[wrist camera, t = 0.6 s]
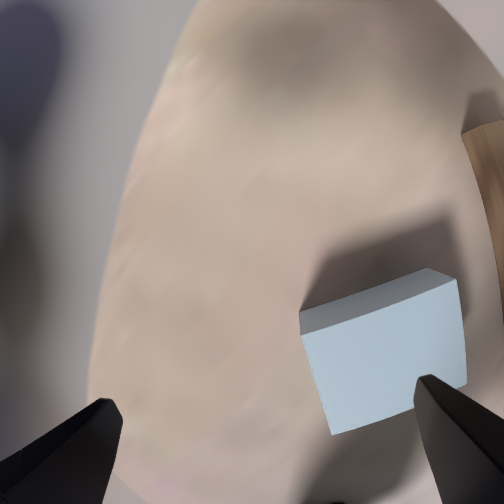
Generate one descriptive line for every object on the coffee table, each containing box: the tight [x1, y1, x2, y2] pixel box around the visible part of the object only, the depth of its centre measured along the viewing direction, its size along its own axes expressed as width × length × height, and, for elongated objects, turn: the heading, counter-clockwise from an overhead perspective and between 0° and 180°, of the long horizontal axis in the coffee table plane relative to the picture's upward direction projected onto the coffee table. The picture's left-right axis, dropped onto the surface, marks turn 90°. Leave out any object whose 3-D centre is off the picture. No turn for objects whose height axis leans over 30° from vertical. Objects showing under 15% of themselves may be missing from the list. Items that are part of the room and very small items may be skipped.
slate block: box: [299, 267, 467, 435], centre depth 18 cm, size 7×9×4 cm
